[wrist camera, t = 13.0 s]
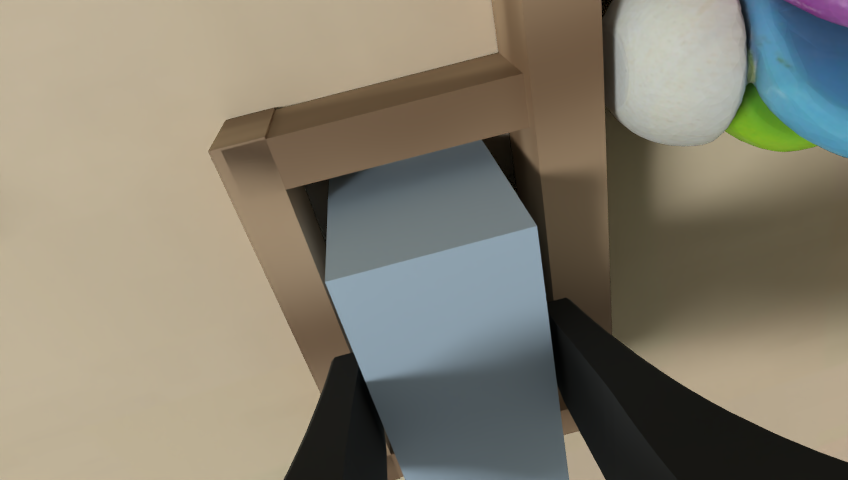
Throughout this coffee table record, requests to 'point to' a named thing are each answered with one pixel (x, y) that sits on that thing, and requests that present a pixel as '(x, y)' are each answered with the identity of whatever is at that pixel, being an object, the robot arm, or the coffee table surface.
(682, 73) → the rainbow fan toy
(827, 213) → the coffee table surface
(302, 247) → the frame
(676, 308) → the coffee table surface
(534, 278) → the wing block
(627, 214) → the coffee table surface
